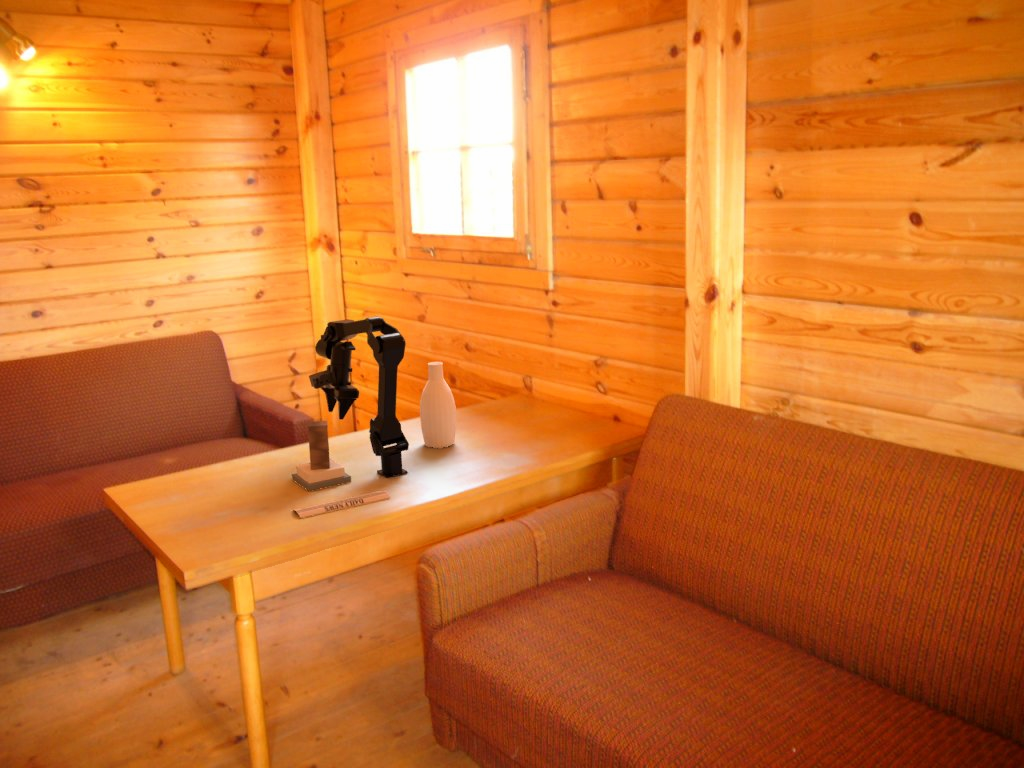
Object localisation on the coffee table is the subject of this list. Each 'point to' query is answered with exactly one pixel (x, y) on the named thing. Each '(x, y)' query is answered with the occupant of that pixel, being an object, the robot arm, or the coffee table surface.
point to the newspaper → (342, 504)
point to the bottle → (437, 409)
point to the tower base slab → (321, 482)
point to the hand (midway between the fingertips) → (335, 415)
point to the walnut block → (318, 445)
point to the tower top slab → (320, 472)
